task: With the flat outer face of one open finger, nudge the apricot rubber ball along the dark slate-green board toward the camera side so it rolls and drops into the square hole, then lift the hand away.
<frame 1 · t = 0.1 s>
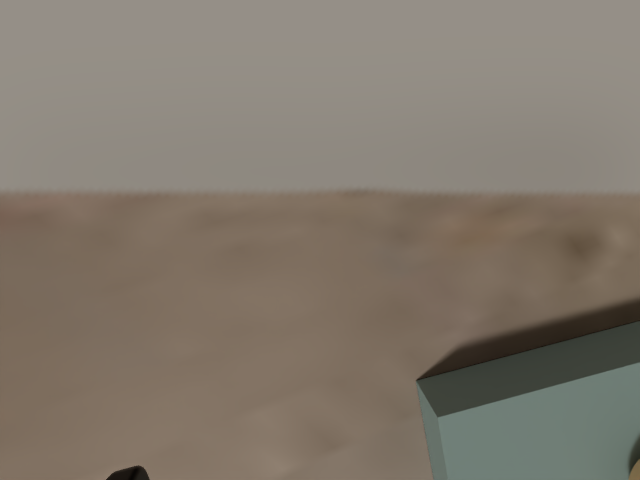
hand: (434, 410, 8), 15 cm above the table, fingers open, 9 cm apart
deck: (625, 422, 27), on the table
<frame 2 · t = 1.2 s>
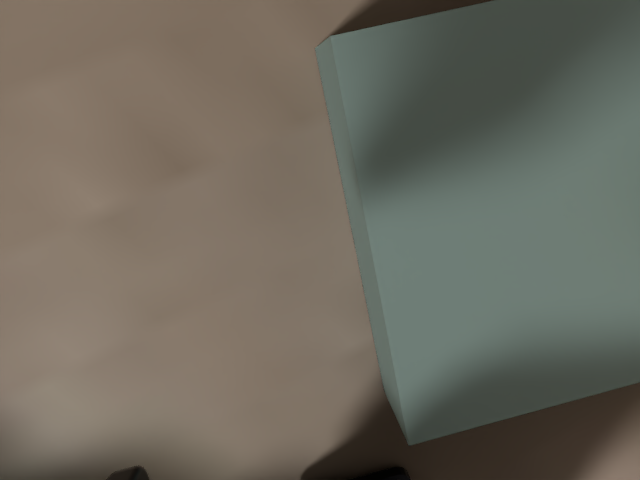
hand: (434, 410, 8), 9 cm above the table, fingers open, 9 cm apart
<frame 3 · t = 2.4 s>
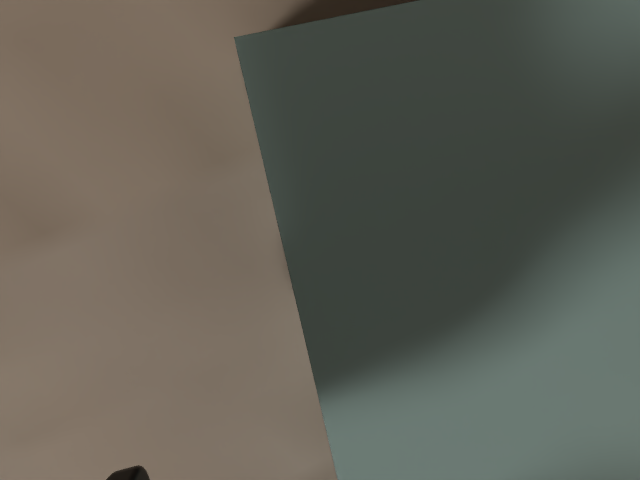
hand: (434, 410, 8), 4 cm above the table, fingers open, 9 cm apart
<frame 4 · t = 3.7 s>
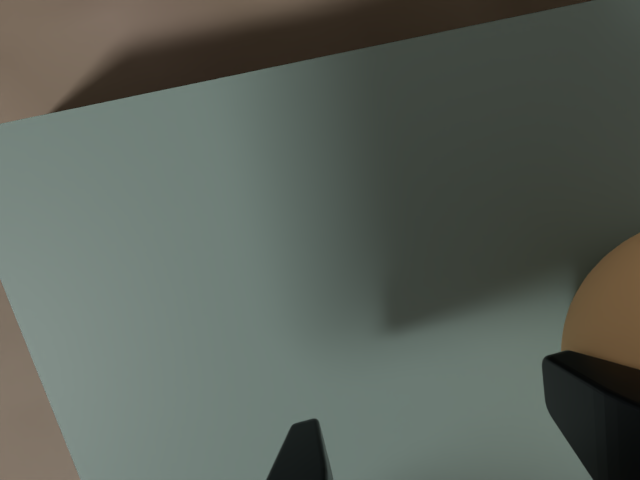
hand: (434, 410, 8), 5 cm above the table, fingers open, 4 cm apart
deck: (534, 272, 13), on the table
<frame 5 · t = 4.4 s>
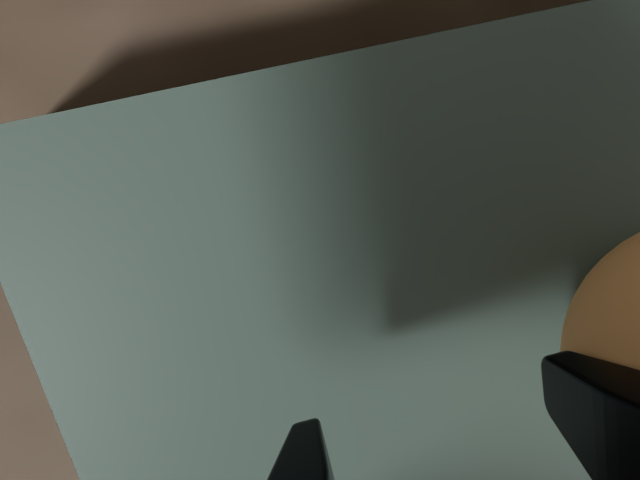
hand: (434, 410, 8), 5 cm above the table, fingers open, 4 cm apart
deck: (534, 272, 13), on the table
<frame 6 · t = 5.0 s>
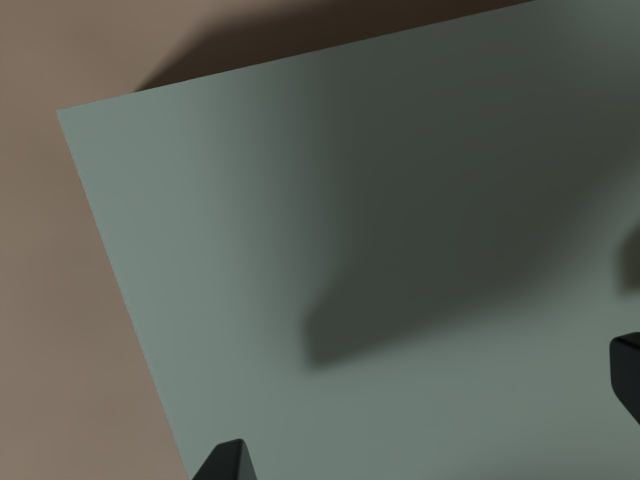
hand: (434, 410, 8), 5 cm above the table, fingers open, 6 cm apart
deck: (619, 249, 13), on the table
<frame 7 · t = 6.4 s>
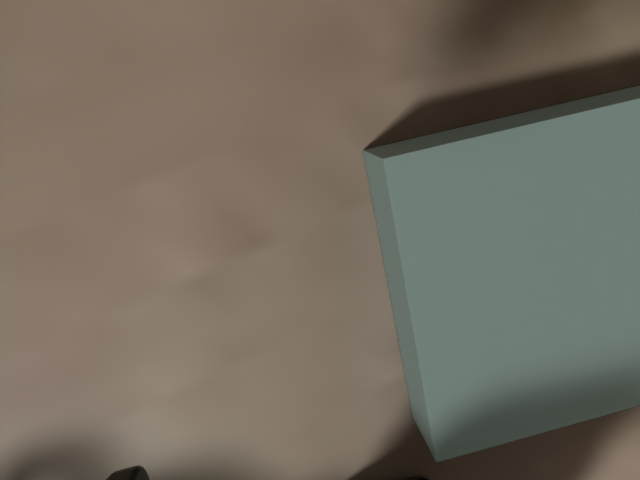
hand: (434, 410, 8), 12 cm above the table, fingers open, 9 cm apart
deck: (638, 231, 21), on the table
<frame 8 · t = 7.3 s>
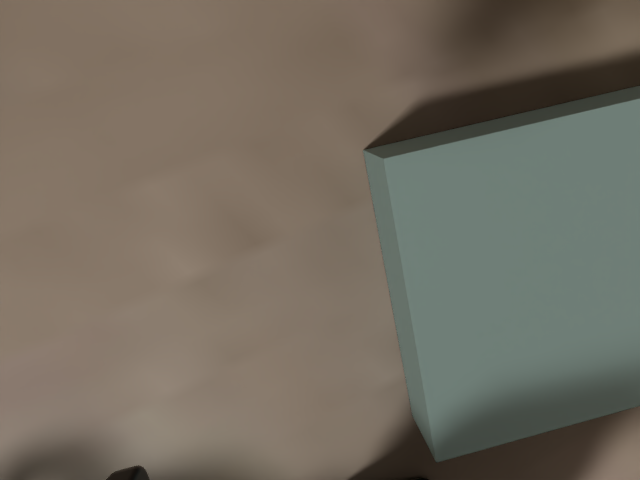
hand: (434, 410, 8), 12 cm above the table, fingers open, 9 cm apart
deck: (638, 231, 21), on the table
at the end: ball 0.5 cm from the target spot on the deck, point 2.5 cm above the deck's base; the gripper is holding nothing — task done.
